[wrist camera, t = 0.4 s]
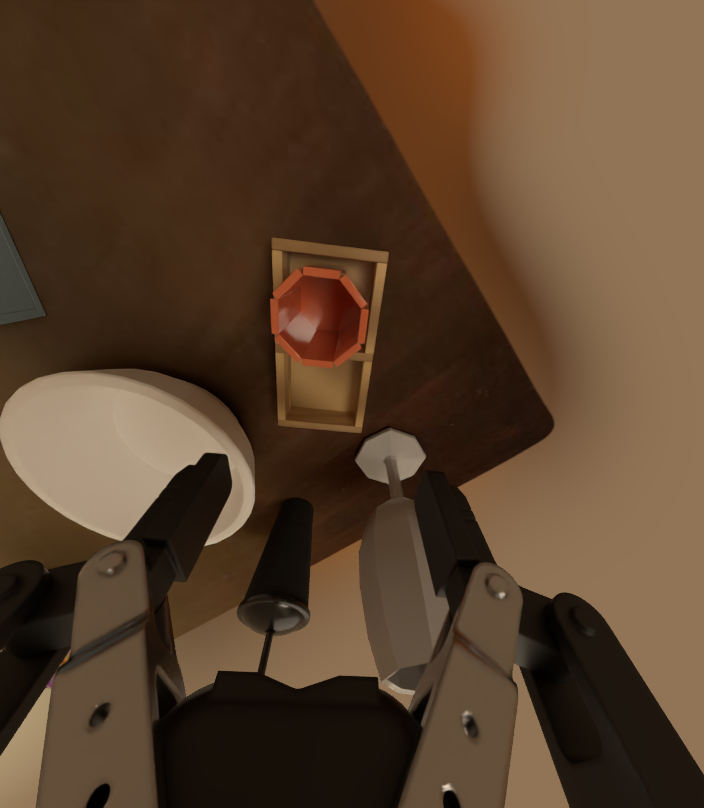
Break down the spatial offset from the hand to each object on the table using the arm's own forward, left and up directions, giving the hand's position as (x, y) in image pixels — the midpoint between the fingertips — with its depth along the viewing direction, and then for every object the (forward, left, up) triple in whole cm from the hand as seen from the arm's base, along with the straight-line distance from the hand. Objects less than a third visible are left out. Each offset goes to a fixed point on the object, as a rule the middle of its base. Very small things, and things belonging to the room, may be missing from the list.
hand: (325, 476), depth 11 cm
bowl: (+13, -18, -19) cm, 29 cm away
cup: (-4, -1, -18) cm, 19 cm away
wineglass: (+14, +8, -19) cm, 25 cm away
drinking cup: (+26, -4, -19) cm, 32 cm away
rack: (0, -1, -19) cm, 19 cm away
